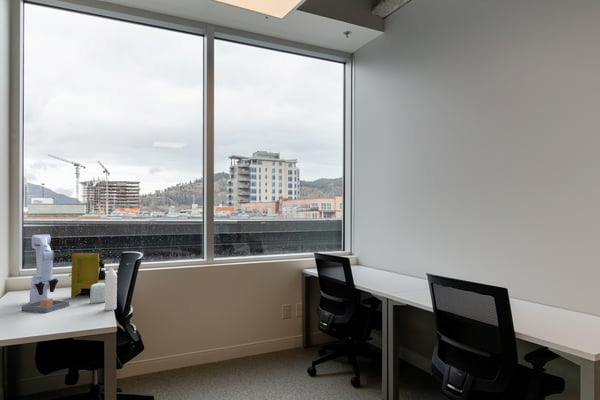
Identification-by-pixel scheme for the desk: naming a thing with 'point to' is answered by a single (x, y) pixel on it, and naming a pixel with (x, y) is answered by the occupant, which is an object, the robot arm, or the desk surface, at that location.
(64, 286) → the desk surface
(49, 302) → the terracotta block
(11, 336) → the desk surface
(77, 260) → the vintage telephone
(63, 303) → the bin
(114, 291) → the white spray bottle
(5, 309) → the desk surface
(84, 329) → the desk surface
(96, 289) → the photo printer
